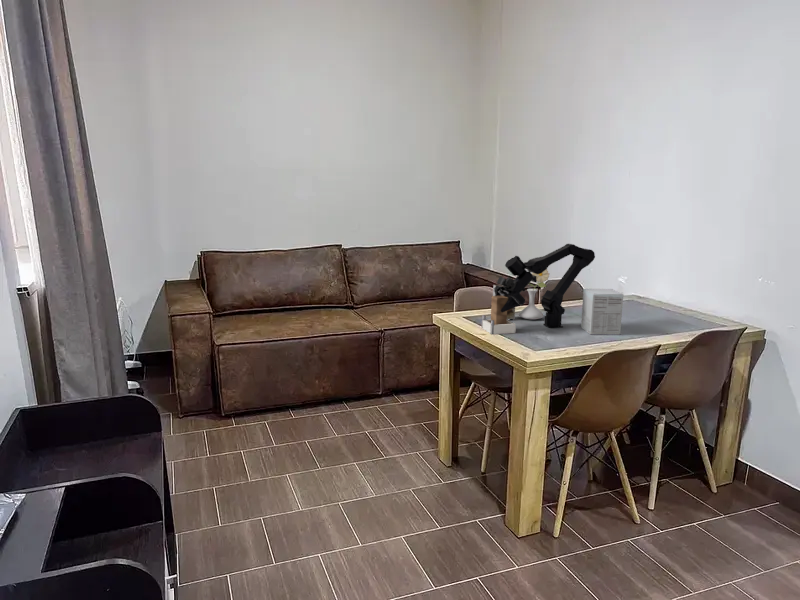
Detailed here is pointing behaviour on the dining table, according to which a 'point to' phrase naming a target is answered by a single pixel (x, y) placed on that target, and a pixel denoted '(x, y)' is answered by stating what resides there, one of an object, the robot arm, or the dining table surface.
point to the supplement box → (602, 311)
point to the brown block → (498, 310)
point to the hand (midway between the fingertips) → (496, 309)
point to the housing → (497, 326)
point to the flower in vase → (531, 309)
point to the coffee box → (511, 311)
